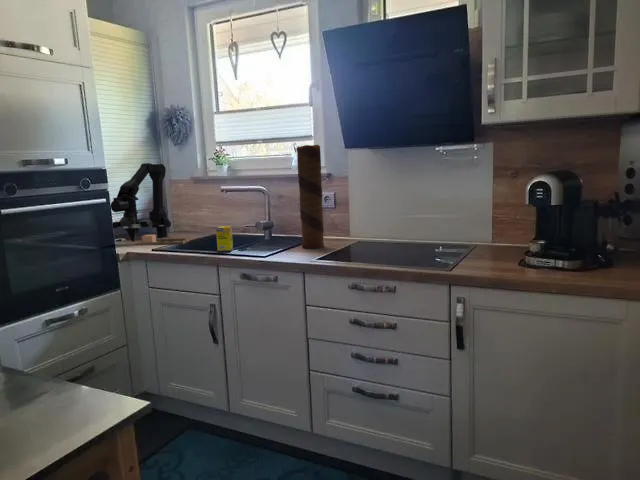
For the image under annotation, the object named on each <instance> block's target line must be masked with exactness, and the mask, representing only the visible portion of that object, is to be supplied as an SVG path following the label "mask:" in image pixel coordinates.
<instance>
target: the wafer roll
mask: <svg viewBox="0 0 640 480" xmlns="http://www.w3.org/2000/svg"><path fill="white" fill-rule="evenodd" d="M296 152H297V153H296V155H297V161H296V162H297V177H298V188H299V189H298V191H299V213H300V215H299V216H300V222H301V240H302V241H301V247H302V248H305V249H320V248H324V246H325V243H324V233H325V232H324V220H323V219H324V215H323V214H324V213H323V185H322V184H323V183H322V159H321V155H322V154H321V146H320V145H319V144H313V145H311V144H305V145H301V146H297V147H296Z"/></svg>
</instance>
